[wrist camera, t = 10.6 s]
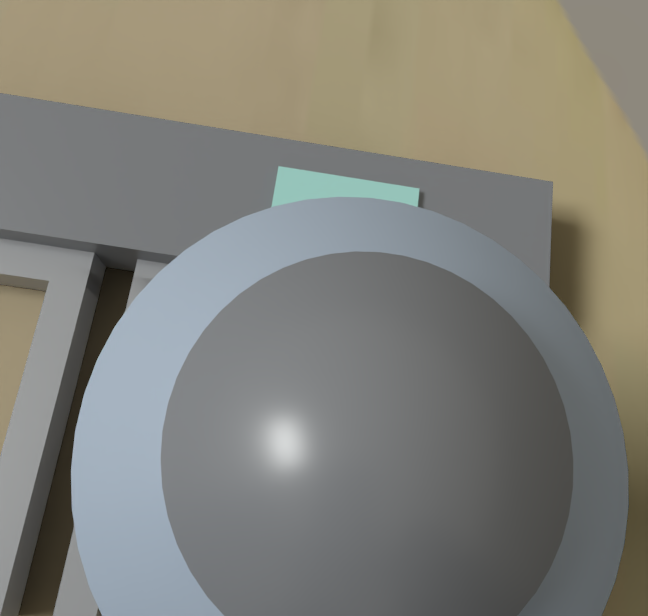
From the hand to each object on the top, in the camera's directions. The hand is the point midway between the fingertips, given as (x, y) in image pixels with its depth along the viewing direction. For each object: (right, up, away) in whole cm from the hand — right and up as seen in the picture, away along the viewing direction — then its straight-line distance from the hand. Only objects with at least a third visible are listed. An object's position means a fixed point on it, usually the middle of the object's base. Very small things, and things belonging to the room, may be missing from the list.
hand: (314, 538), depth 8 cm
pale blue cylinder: (0, -2, +9) cm, 9 cm away
